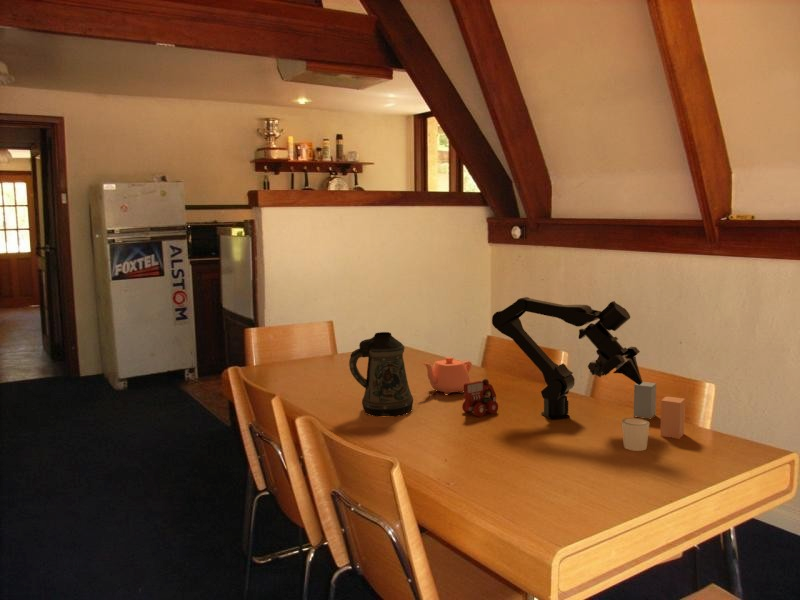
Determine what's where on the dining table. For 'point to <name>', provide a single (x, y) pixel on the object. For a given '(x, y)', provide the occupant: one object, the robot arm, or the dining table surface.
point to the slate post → (645, 399)
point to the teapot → (448, 375)
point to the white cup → (635, 433)
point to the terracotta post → (672, 417)
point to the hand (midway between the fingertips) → (640, 383)
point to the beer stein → (383, 376)
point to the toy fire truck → (479, 398)
